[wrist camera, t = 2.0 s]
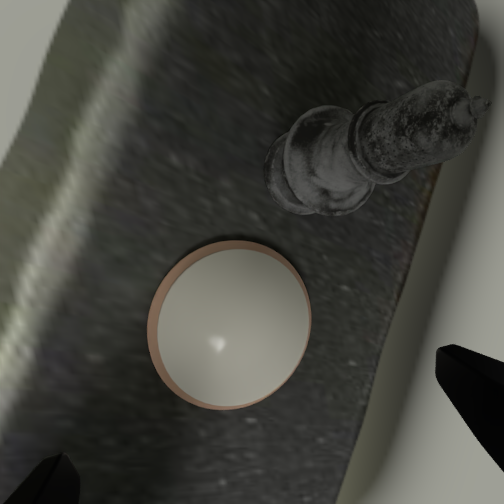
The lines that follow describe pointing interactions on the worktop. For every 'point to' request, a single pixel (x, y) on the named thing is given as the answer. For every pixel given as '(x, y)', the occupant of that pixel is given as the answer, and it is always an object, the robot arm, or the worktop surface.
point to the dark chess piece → (368, 147)
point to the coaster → (229, 324)
